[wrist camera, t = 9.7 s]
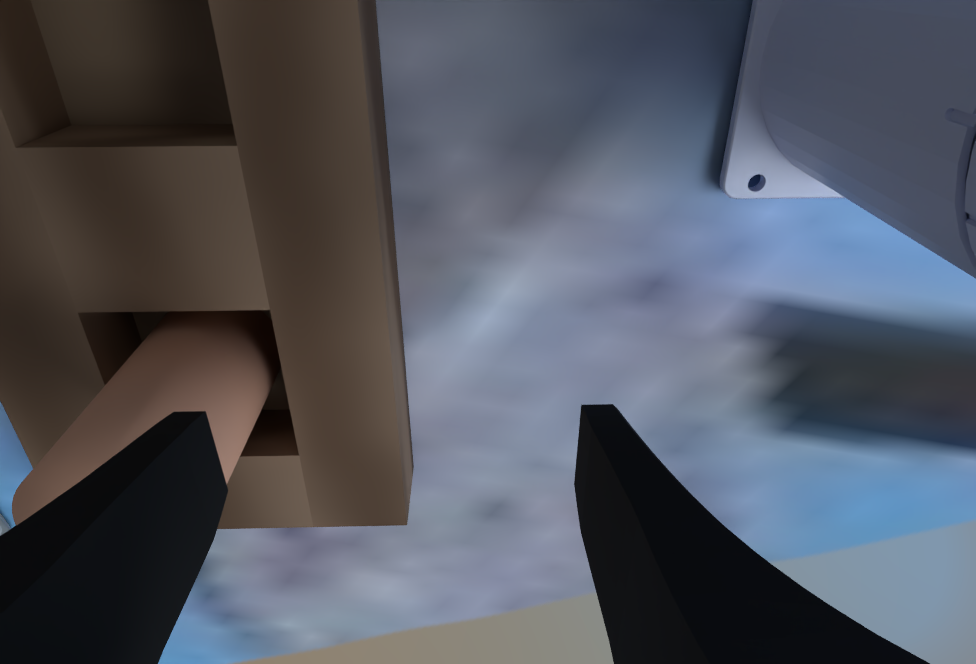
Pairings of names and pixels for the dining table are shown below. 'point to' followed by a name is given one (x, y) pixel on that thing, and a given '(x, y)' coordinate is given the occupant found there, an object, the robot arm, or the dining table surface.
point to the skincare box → (3, 525)
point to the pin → (167, 397)
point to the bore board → (209, 229)
